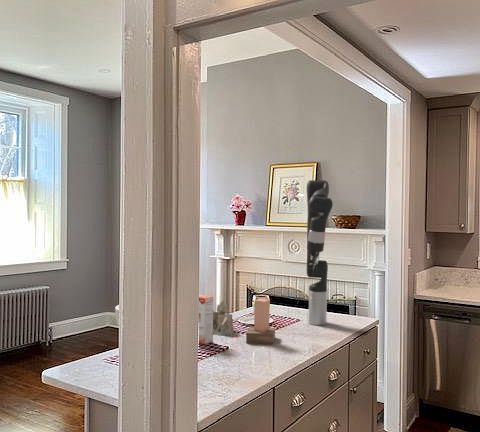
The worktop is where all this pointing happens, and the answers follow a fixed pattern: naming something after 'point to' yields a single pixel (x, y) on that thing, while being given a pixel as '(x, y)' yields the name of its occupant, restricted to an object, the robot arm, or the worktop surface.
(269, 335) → the walnut base
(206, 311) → the cracker box
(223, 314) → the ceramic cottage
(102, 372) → the worktop surface
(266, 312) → the terracotta block
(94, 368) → the worktop surface
